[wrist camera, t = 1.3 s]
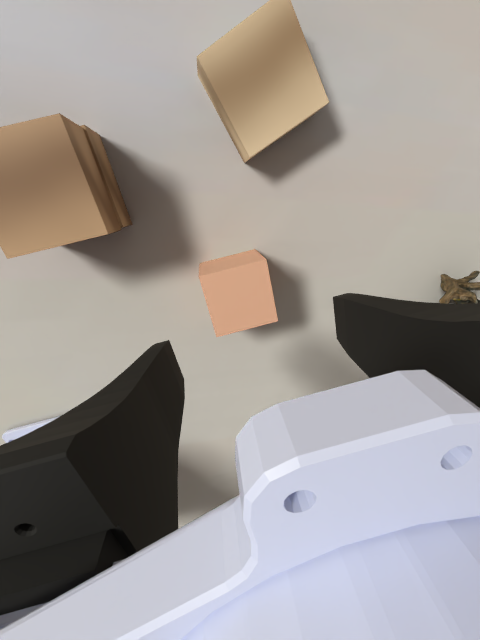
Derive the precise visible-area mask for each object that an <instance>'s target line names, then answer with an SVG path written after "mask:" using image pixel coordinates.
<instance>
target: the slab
mask: <svg viewBox="0 0 480 640" xmlns="http://www.w3.org/2000/svg"><path fill="white" fill-rule="evenodd" d="M197 70H198V77H199V79H200V81H201V82H202V84H203V86H204V88H205V90H206V92H207V94H208V96H209V97H210V99H211V101H212V103H213V105H214V107H215V109H216V111H217V113H218V114H219V116H220V118H221V120H222V122H223V124H224V126H225V128H226V129H227V131H228V133H229V135H230V137H231V139H232V141H233V143H234V144H235V146H236V148H237V150H238V152H239V154H240V156H241V158H242V159H243V161H244V163H245V162H247V161H248V160H250V159H251V158H253V157H254V156H255V155H257V154H258V153H260V152H261V151H263V150H264V149H265V148H267V147H268V146H270V145H271V144H273V143H274V142H275V141H277V140H278V139H280V138H281V137H283V136H284V135H285V134H287V133H288V132H290V131H291V130H293V129H294V128H295V127H297V126H298V125H300V124H301V123H303V122H304V121H305V120H307V119H308V118H310V117H311V116H312V115H314V114H315V113H316V112H318V111H319V110H320V109H321V108H323V107H324V106H325V105H326V104H328V103H329V101H328V98H327V95H326V93H325V90H324V87H323V85H322V82H321V80H320V77H319V74H318V72H317V69H316V66H315V64H314V61H313V59H312V56H311V53H310V51H309V48H308V45H307V43H306V40H305V38H304V35H303V32H302V30H301V27H300V24H299V22H298V19H297V16H296V14H295V11H294V9H293V6H292V3H291V1H290V0H270V1H268V2H267V3H266V4H264V5H263V6H262V7H260V8H259V9H258V10H257V11H255V12H254V13H253V14H251V15H250V16H249V17H247V18H246V19H245V20H244V21H242V22H241V23H240V24H238V25H237V26H236V27H234V28H233V29H232V30H231V31H229V32H228V33H227V34H225V35H224V36H223V37H221V38H220V39H219V40H218V41H216V42H215V43H214V44H212V45H211V46H210V47H208V48H207V49H206V50H204V51H203V52H202V53H201V54H199V55H198V56H197Z"/></svg>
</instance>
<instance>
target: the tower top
mask: <svg viewBox="0 0 480 640" xmlns="http://www.w3.org/2000/svg"><path fill="white" fill-rule="evenodd" d="M119 230H122V229H121V227H120V224H119V222H118V219H117V216H116V214H115V211H114V209H113V206H112V203H111V201H110V198H109V196H108V193H107V190H106V188H105V185H104V182H103V180H102V177H101V175H100V172H99V169H98V167H97V164H96V161H95V159H94V156H93V154H92V151H91V148H90V146H89V143H88V140H87V138H86V135H85V133H84V130H83V128H82V127H80V126H79V125H77V124H75V123H74V122H72V121H71V120H69V119H68V118H66V117H64V116H63V115H61V114H60V113H59V114H55V115H51V116H46V117H42V118H38V119H34V120H29V121H25V122H21V123H16V124H12V125H8V126H3V127H0V246H1V248H2V250H3V252H4V253H5V255H6V257H7V259H9V258H13V257H17V256H21V255H25V254H29V253H33V252H37V251H41V250H46V249H50V248H54V247H58V246H62V245H66V244H70V243H74V242H78V241H82V240H86V239H90V238H94V237H98V236H103V235H107V234H110V233H113V232H116V231H119Z"/></svg>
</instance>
